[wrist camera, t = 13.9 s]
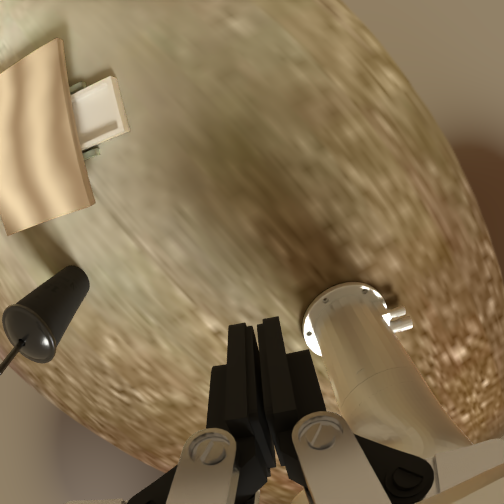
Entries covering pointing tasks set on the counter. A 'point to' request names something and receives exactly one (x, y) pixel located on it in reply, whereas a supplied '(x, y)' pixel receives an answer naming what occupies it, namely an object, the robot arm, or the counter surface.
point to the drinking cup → (44, 316)
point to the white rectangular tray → (99, 113)
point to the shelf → (40, 142)
